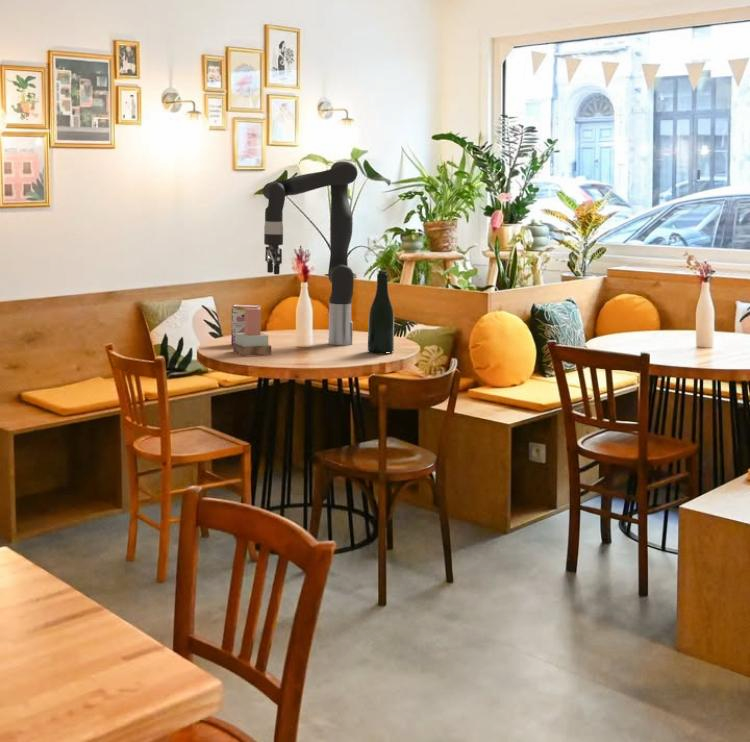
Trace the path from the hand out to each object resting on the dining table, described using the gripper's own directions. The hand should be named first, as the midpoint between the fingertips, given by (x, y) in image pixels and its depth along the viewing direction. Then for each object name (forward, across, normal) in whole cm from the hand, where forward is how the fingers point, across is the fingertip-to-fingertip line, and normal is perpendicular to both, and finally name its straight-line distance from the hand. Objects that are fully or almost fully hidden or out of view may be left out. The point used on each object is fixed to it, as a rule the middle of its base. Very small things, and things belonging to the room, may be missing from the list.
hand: (273, 273), depth 433 cm
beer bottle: (+30, -23, -38) cm, 54 cm away
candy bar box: (+30, +8, +9) cm, 33 cm away
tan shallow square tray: (+31, -12, +12) cm, 35 cm away
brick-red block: (+23, -12, +12) cm, 29 cm away
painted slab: (+27, -12, +12) cm, 32 cm away
